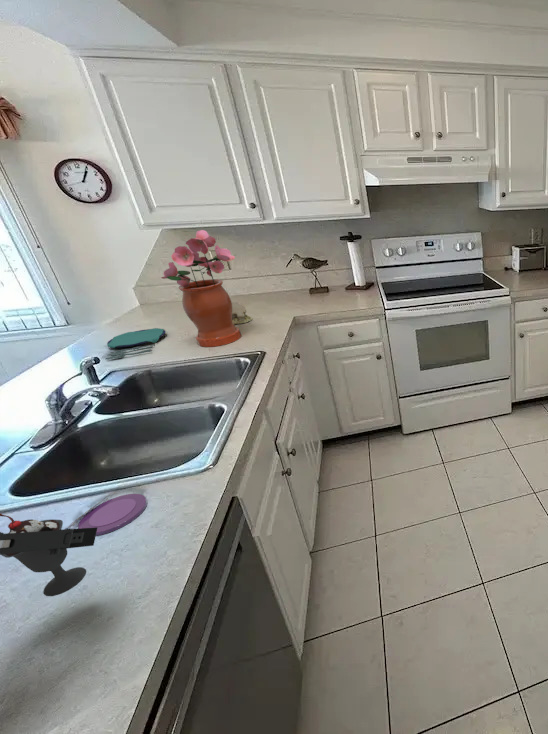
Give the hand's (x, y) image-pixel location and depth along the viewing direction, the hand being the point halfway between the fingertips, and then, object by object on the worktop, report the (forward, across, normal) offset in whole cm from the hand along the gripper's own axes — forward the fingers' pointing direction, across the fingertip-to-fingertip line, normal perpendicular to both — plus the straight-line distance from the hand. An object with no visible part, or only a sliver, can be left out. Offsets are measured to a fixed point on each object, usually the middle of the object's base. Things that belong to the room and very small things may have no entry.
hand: (67, 538), depth 65 cm
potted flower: (+95, -38, +75) cm, 127 cm away
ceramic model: (+111, -44, +92) cm, 150 cm away
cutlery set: (+95, -73, +75) cm, 141 cm away
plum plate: (+22, -11, +4) cm, 25 cm away
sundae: (+2, 0, -6) cm, 7 cm away
